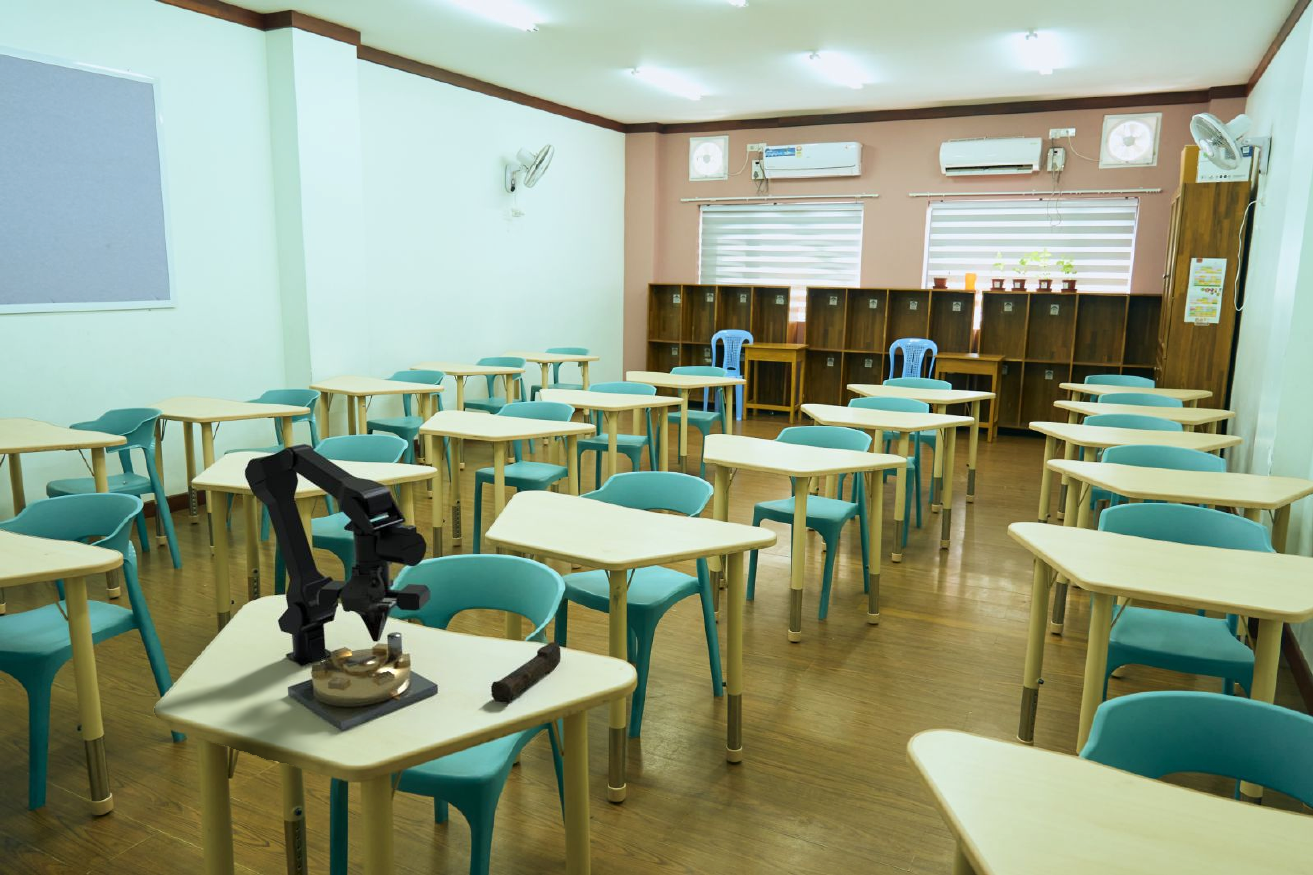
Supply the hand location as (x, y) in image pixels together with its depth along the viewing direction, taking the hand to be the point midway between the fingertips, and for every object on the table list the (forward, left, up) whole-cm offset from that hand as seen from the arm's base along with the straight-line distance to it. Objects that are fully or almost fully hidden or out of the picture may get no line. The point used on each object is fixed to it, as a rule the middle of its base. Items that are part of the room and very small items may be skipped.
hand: (376, 640), depth 158 cm
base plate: (+4, -5, -7) cm, 9 cm away
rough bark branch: (+20, +18, -8) cm, 28 cm away
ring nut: (+4, -5, -5) cm, 8 cm away
